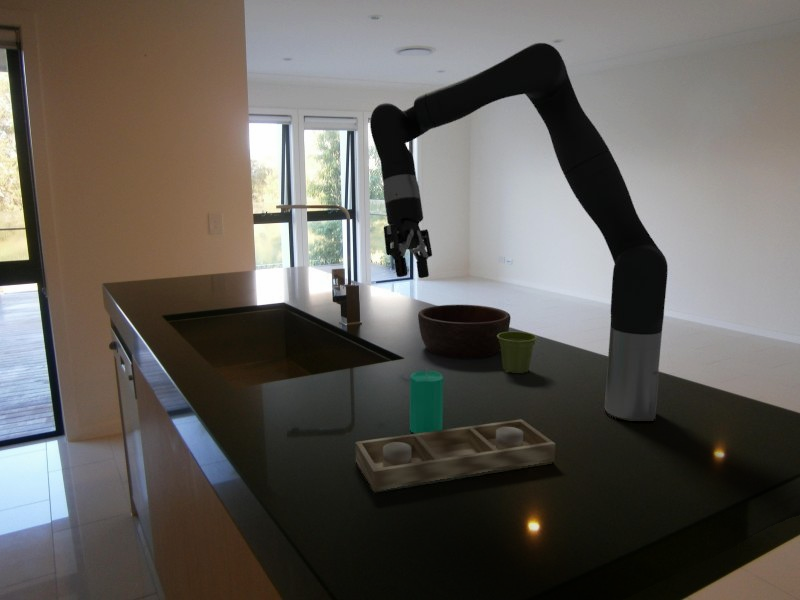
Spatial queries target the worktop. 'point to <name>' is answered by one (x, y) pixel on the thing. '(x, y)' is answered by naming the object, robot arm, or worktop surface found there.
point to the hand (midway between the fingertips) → (413, 277)
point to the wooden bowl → (463, 330)
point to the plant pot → (516, 350)
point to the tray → (451, 453)
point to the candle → (426, 401)
